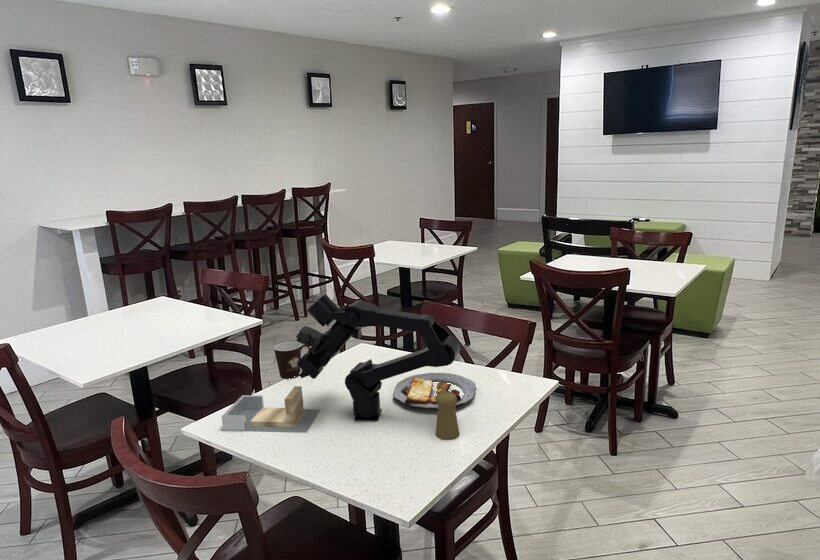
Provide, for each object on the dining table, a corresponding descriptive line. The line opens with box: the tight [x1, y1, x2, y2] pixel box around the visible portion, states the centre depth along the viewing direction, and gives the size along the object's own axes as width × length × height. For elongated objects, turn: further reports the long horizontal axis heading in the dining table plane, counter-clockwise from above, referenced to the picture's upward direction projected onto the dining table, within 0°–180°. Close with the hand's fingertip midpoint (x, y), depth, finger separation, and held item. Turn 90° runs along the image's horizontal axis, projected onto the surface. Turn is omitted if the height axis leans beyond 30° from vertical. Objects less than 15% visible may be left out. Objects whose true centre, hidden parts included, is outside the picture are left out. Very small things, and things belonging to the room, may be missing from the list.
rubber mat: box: [221, 408, 321, 434], centre depth 149 cm, size 23×13×1 cm, turn 83°
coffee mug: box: [273, 341, 311, 380], centre depth 180 cm, size 12×9×10 cm
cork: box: [434, 391, 460, 441], centre depth 137 cm, size 6×6×11 cm
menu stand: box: [250, 385, 305, 427], centre depth 148 cm, size 12×8×8 cm, turn 83°
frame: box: [221, 394, 265, 432], centre depth 150 cm, size 6×13×4 cm, turn 173°
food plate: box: [392, 372, 476, 410], centre depth 161 cm, size 25×23×4 cm
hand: (301, 376), depth 152 cm, fingers closed
